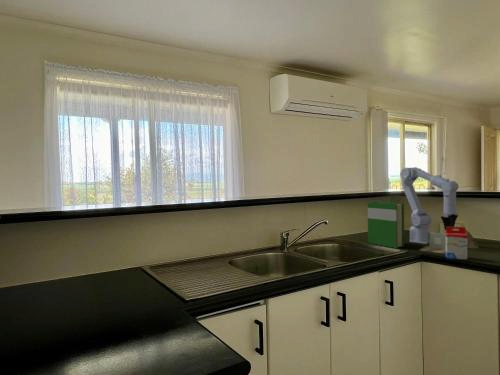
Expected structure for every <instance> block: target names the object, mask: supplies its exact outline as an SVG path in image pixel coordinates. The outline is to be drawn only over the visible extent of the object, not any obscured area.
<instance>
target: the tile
mask: <svg viewBox="0 0 500 375" xmlns="http://www.w3.org/2000/svg"><path fill="white" fill-rule="evenodd" d="M428 241H429V243H428V244H429V245H428V246H429V248H437V249H445V250H446V233H441V232H440V233H439V232H431V231H430V232H428Z"/></svg>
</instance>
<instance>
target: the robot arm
mask: <svg viewBox="0 0 500 375" xmlns="http://www.w3.org/2000/svg"><path fill="white" fill-rule="evenodd" d="M399 176H400V178H401V186H402V188H403V189H402V190H403V191H404V194H405V196H406V198H407V201H408V204H409V206H410V208H411V211H412V213H411V215H410V217H411V224H412V225H411V226H410V227H409V242H410V243H418V244H429V227H430V224H431V223H432V218H431V216H430V215H429V214H428V212H427V211H426V210H425V209H424V208H423V206H422V205H421V202H420V200H419V197H418V195H417V192H416V190H415V187H414V185H413V184H414V182H416V180H417V179H418V178H421V179H424V180H426V181H429V182H430V183H431V185H433V186H434V187H437V188H439V189H441V191H442V192H443V193H442V195H443V212H442V213H443V215H442V216H440V219H441V221H442V224H443V227H444V230H445V231H446V227H455V224H456V220H457V219H458V217H459V215H458V214H459V212H458V211H457V191H458V190H459V183H458V182H457V181H455V180H450V179H449V178H445V177H443V176H442V175H440V174H436V175H433V174H430V173H428V172H427V171H425V170H423V169H421V168H419V167H416V166H414V167H403V168H401V170H400V173H399Z"/></svg>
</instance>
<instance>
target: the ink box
mask: <svg viewBox="0 0 500 375" xmlns="http://www.w3.org/2000/svg"><path fill="white" fill-rule="evenodd" d="M465 230H466V227H465V226H454V227H446V230H445V234H446V253H445V257H446V259H451V260H468V248H467V243H468V235H467V234H465Z"/></svg>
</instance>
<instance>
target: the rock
mask: <svg viewBox="0 0 500 375" xmlns="http://www.w3.org/2000/svg"><path fill="white" fill-rule="evenodd" d="M465 234H467V235H468V243H467V249H468V248H470V249H479V245H478V242H477V240H476V238H474V236H473V235H472V234H471V233H470V232H469V231H468V230H467V229H465Z"/></svg>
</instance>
